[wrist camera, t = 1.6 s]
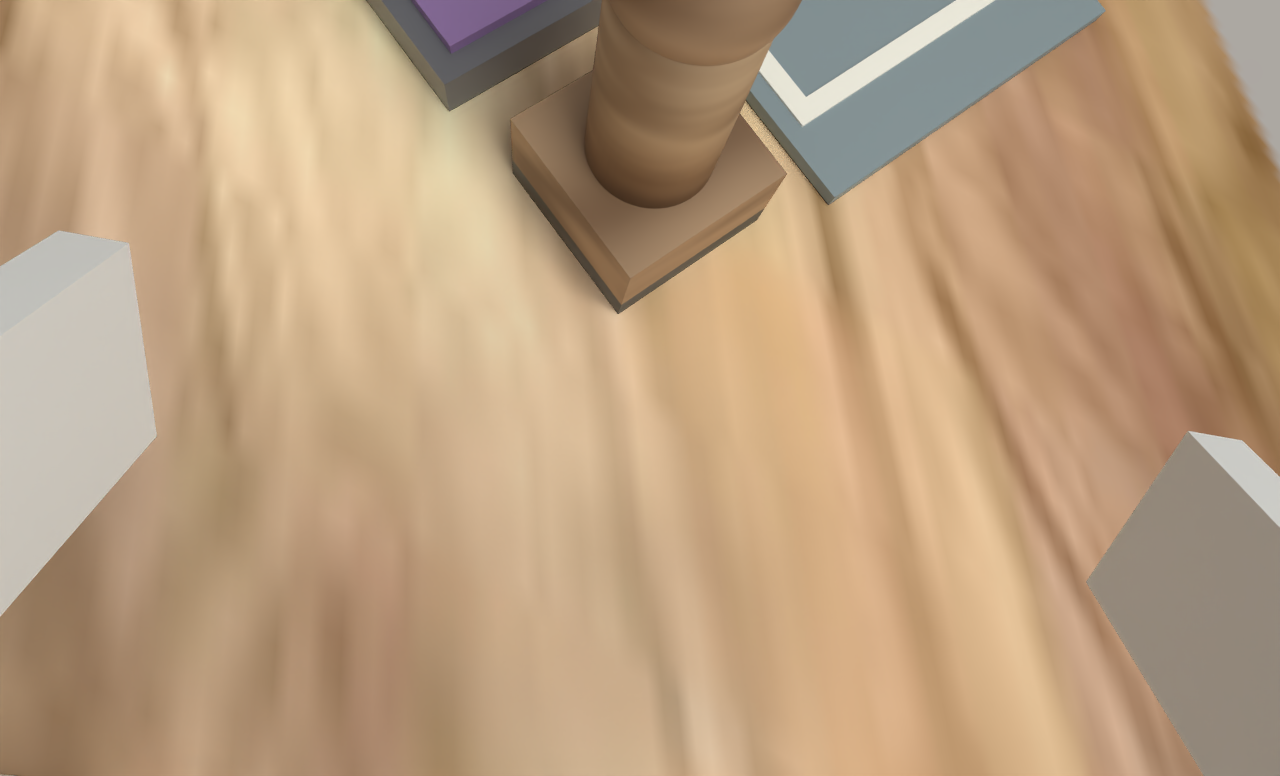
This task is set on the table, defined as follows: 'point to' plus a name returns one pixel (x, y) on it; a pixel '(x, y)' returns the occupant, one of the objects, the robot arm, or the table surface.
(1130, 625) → the robot arm
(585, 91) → the stamp
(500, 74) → the ink pad
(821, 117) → the form board
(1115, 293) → the table surface
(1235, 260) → the table surface
